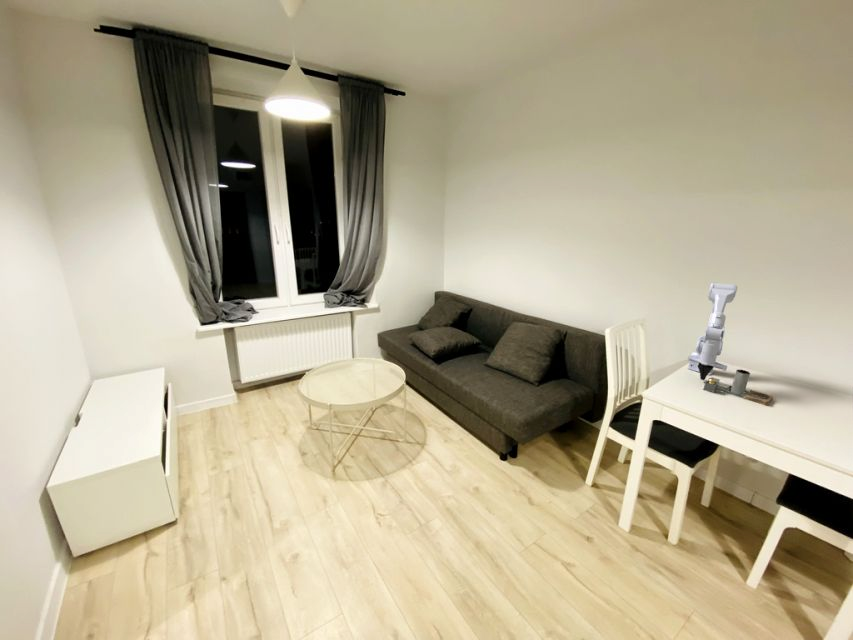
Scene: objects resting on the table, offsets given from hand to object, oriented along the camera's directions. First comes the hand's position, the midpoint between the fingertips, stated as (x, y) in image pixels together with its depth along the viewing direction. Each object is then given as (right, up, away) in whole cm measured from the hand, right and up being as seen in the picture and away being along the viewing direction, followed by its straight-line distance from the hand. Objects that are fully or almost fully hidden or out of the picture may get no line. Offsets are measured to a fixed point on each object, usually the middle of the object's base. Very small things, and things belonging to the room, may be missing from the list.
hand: (702, 379), depth 166 cm
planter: (+8, -5, -9) cm, 13 cm away
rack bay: (+12, -6, -15) cm, 20 cm away
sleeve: (+5, -3, -7) cm, 9 cm away
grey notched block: (+4, -3, -4) cm, 6 cm away
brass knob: (-3, -3, -7) cm, 8 cm away
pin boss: (-3, -4, -7) cm, 9 cm away
